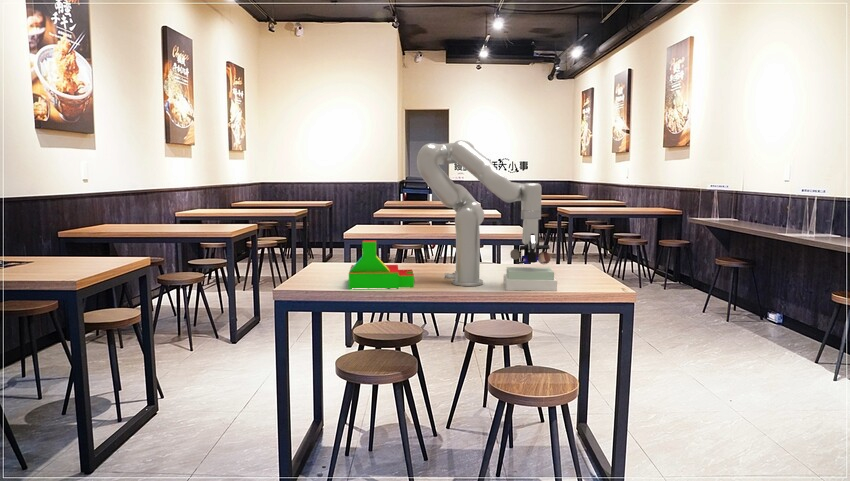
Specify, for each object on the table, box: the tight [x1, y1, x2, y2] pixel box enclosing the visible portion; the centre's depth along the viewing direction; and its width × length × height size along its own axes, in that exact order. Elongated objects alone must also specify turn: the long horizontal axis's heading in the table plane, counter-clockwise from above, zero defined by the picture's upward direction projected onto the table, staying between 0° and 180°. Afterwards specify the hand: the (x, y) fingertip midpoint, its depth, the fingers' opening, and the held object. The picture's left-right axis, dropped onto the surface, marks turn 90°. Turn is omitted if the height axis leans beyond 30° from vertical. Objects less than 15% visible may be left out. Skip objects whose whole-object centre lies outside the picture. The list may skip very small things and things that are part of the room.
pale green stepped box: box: [503, 266, 558, 292], centre depth 227 cm, size 19×13×7 cm
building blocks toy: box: [348, 240, 415, 290], centre depth 232 cm, size 19×25×18 cm
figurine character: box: [510, 244, 552, 265], centre depth 226 cm, size 7×8×15 cm
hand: (530, 260), depth 226 cm, fingers closed on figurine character, 6 cm apart
